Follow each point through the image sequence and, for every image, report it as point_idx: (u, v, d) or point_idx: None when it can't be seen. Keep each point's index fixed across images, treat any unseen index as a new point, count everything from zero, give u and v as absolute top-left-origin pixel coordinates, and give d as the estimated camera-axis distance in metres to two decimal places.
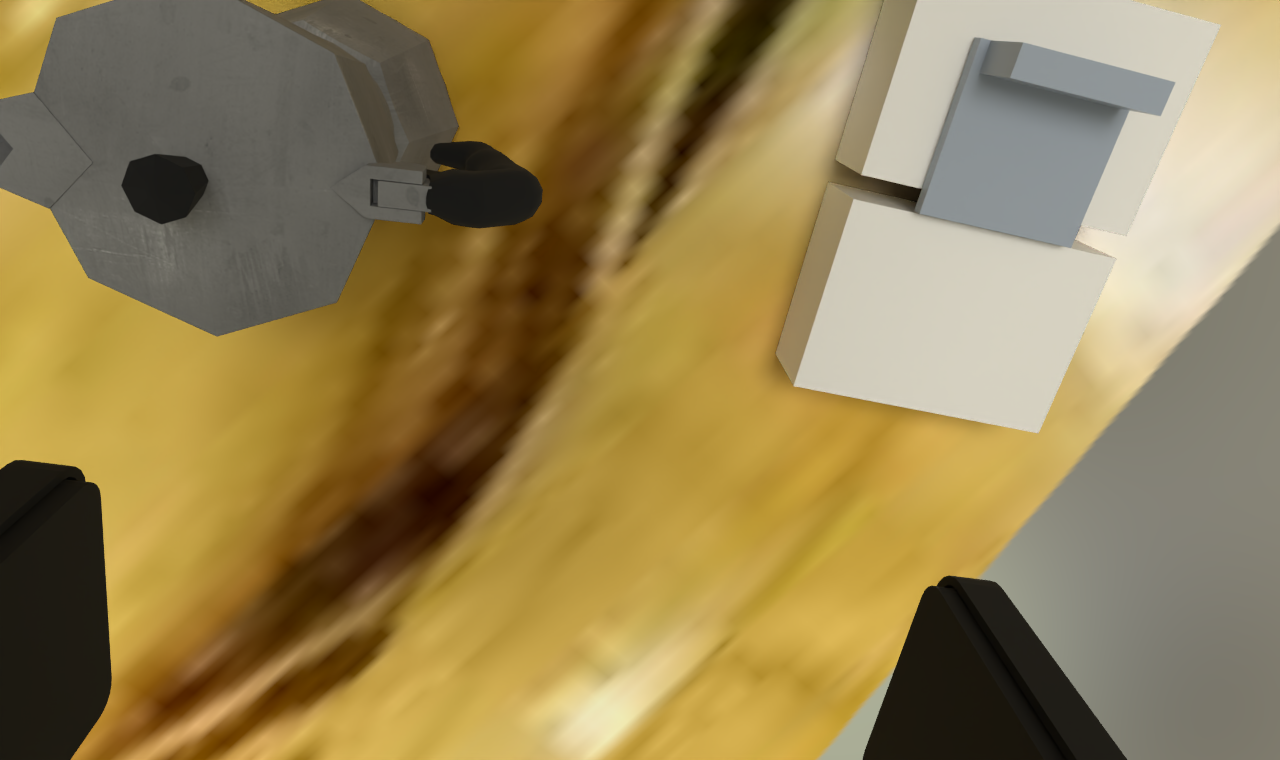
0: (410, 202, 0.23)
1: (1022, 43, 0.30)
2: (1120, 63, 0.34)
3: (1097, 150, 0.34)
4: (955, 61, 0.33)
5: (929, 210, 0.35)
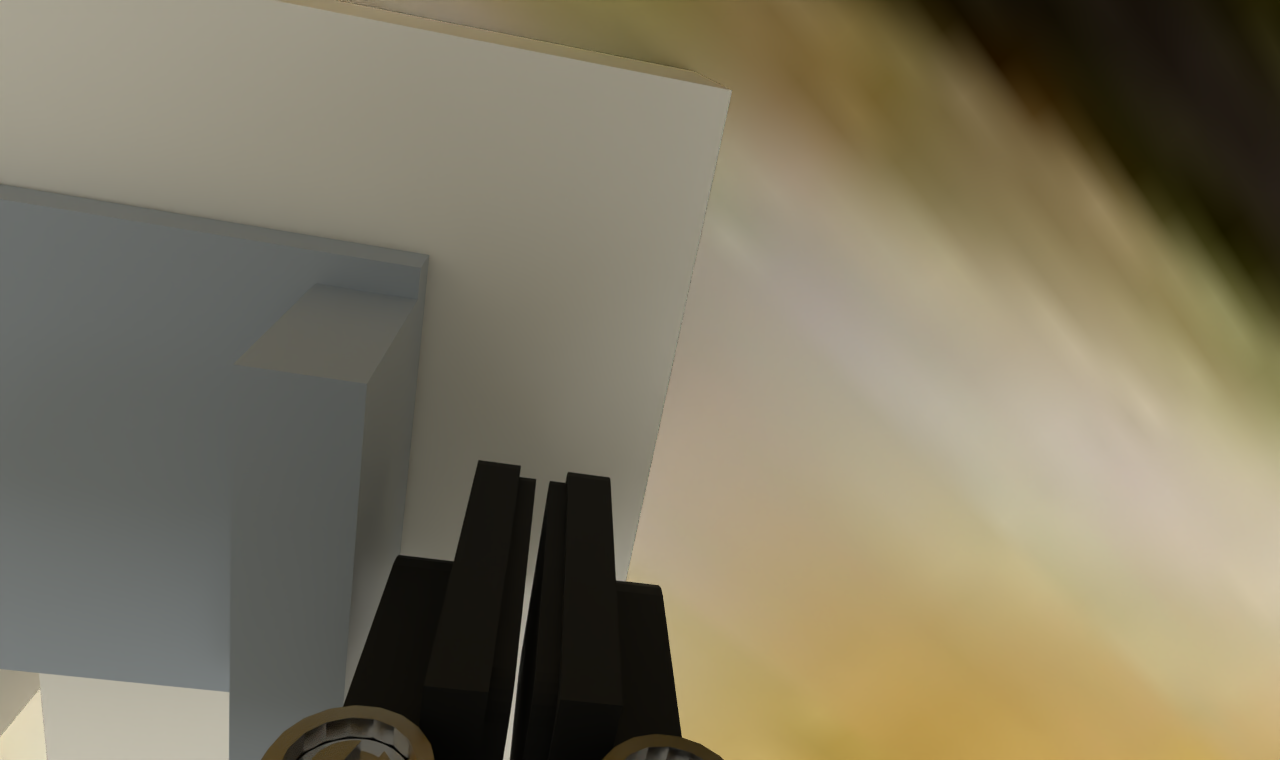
0: None
1: (363, 382, 0.08)
2: None
3: (175, 653, 0.12)
4: (414, 220, 0.11)
5: None
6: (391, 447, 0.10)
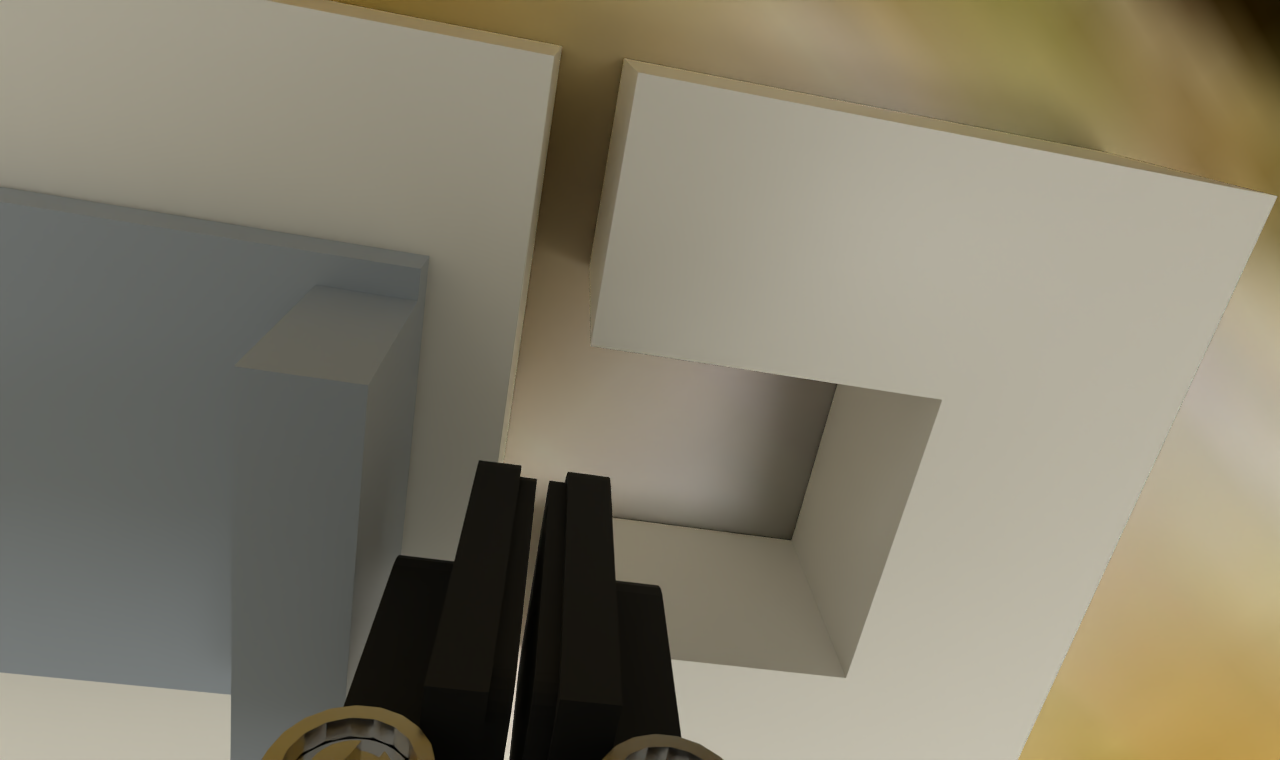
0: None
1: (364, 383, 0.08)
2: (918, 695, 0.14)
3: (175, 655, 0.12)
4: (966, 313, 0.12)
5: None
6: (392, 448, 0.10)
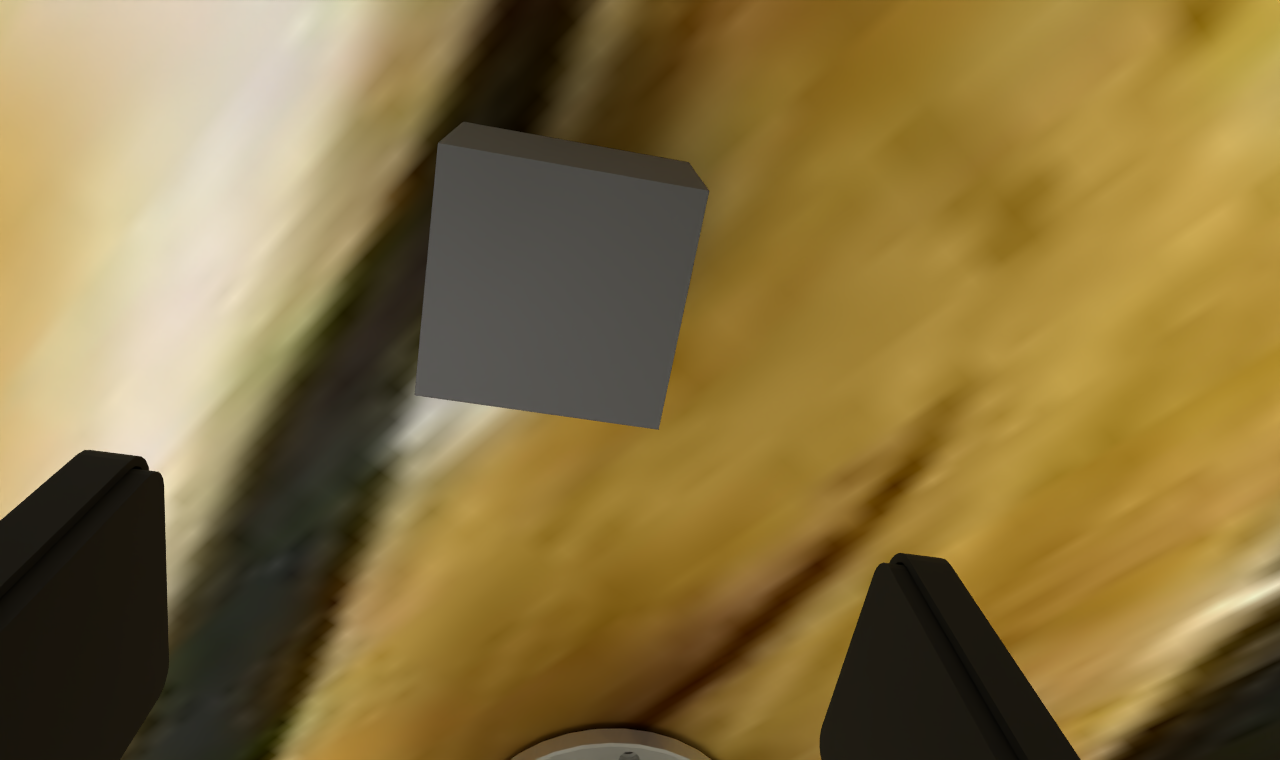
0: None
1: None
2: None
3: None
4: None
5: None
6: None
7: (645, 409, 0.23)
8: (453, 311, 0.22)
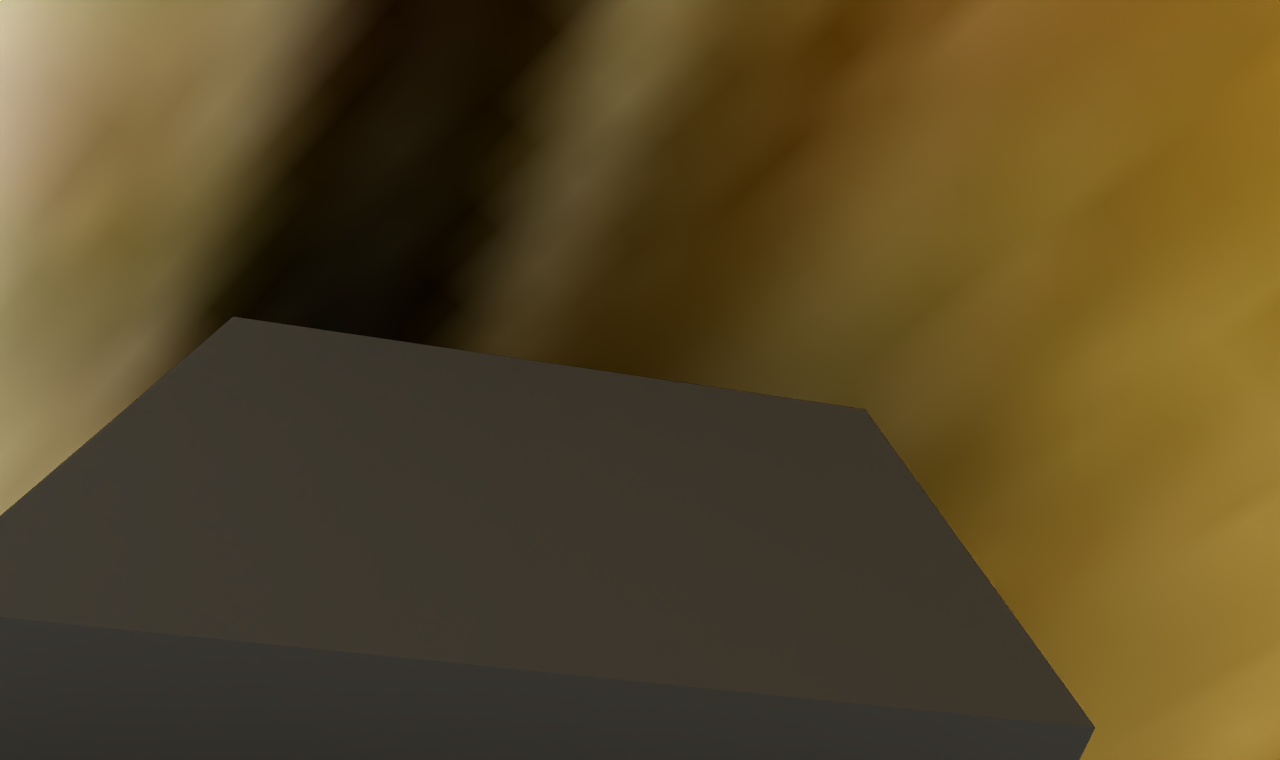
0: None
1: None
2: None
3: None
4: None
5: None
6: None
7: None
8: None
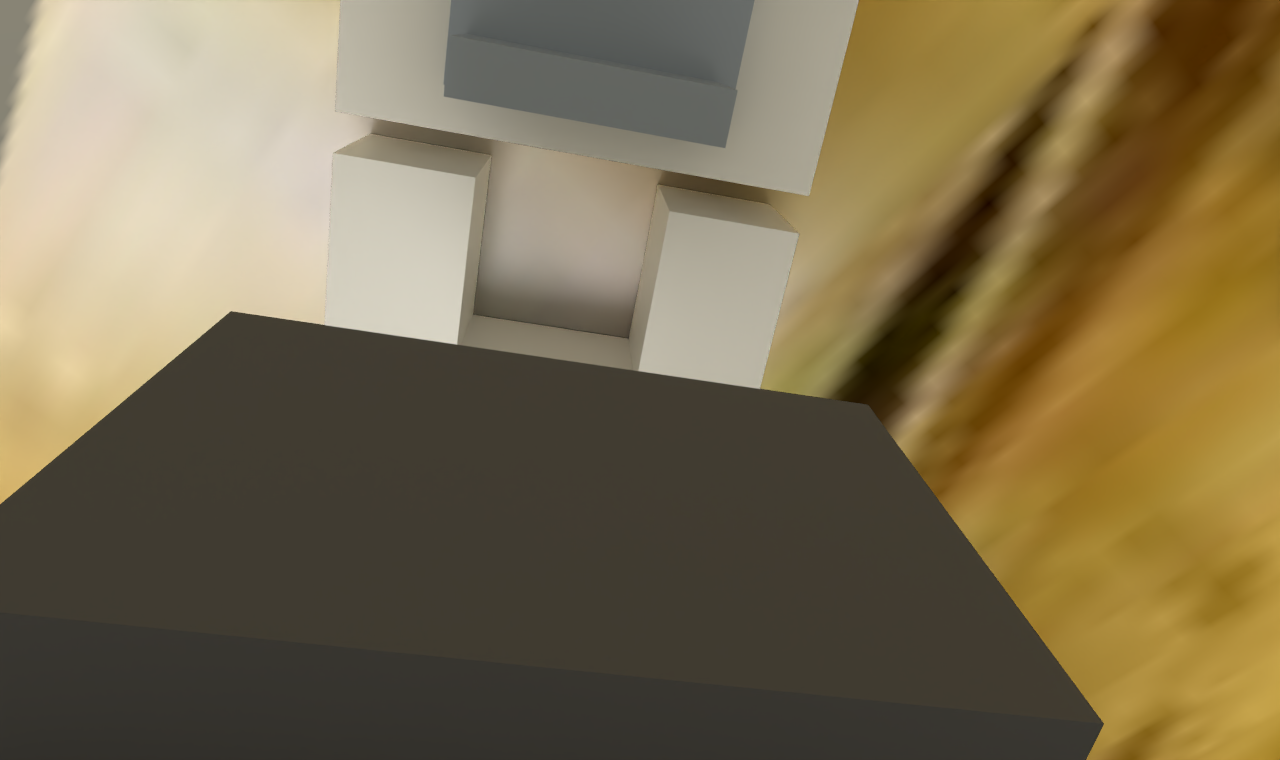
0: None
1: (725, 146, 0.19)
2: None
3: None
4: None
5: None
6: None
7: None
8: None
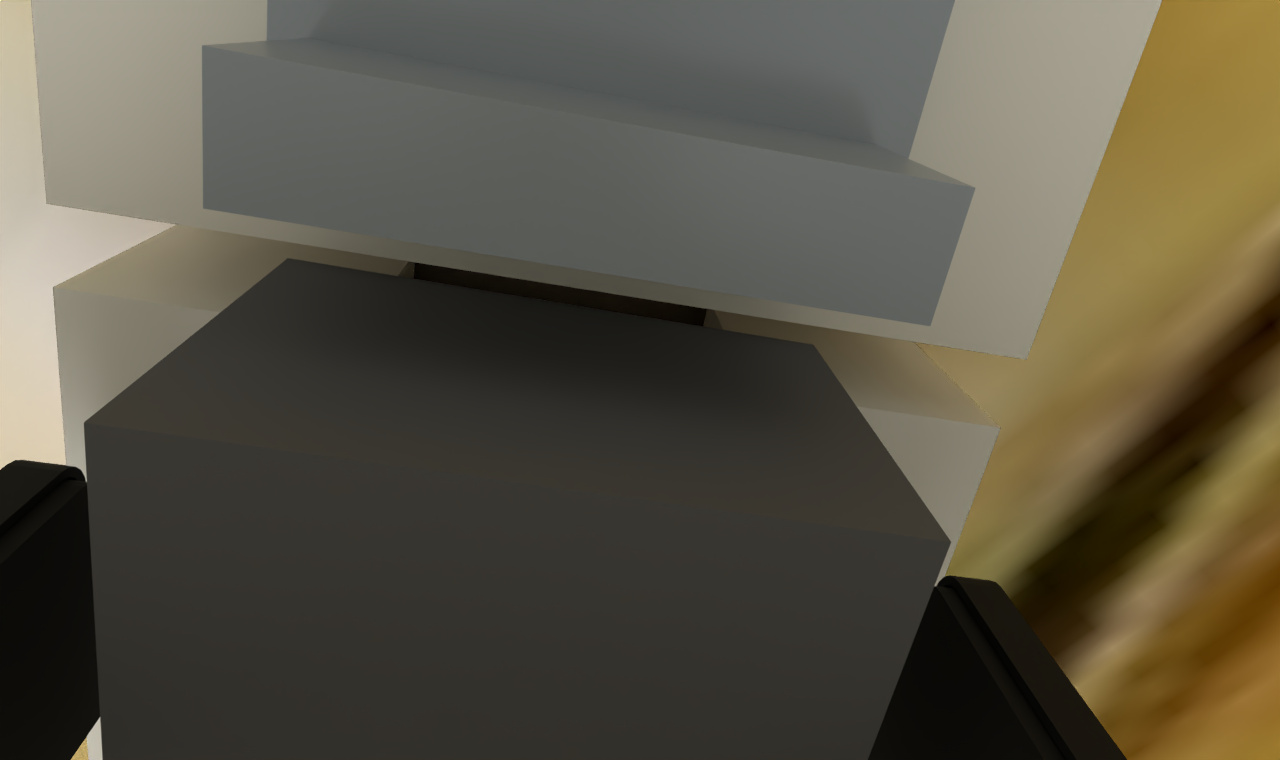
0: None
1: (930, 321, 0.07)
2: None
3: None
4: None
5: None
6: None
7: None
8: None
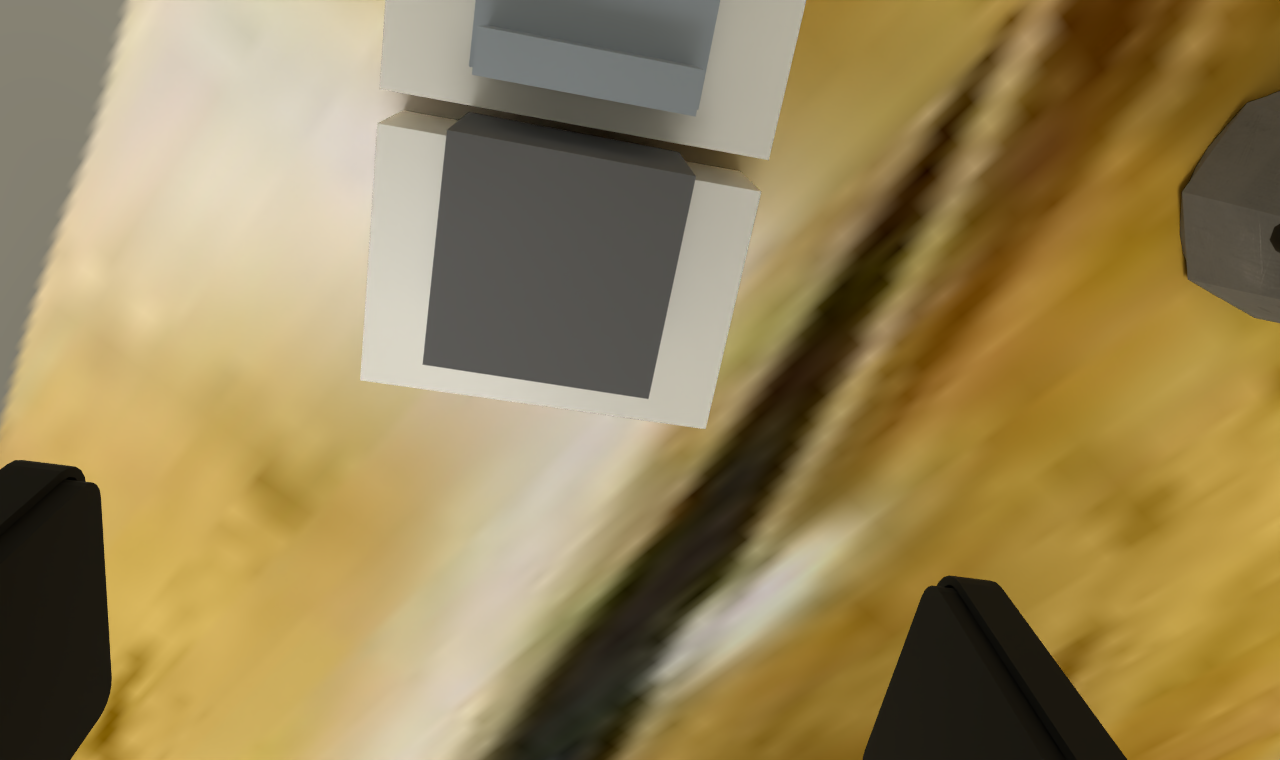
0: None
1: (695, 115, 0.23)
2: None
3: None
4: None
5: None
6: None
7: (636, 380, 0.25)
8: (459, 286, 0.23)
